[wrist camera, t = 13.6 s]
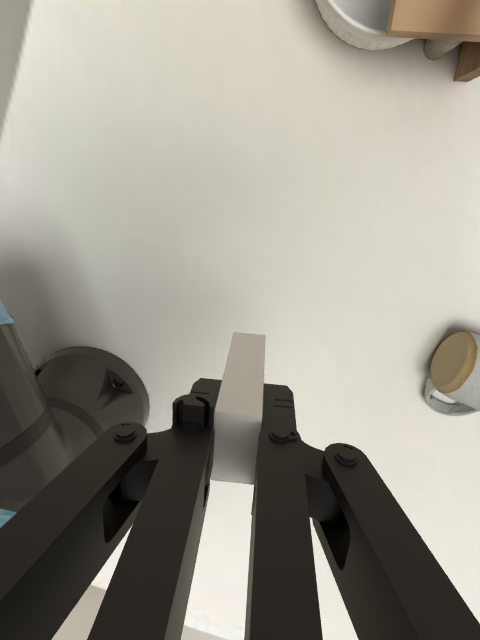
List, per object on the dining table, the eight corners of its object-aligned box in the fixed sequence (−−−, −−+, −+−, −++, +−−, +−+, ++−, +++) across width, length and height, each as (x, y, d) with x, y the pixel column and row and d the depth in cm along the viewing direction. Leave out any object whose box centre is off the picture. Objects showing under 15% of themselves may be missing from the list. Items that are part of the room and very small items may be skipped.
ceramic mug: (450, 317, 42) (486, 347, 35) (518, 342, 42) (567, 376, 35) (403, 394, 46) (426, 435, 39) (465, 416, 46) (500, 461, 39)
